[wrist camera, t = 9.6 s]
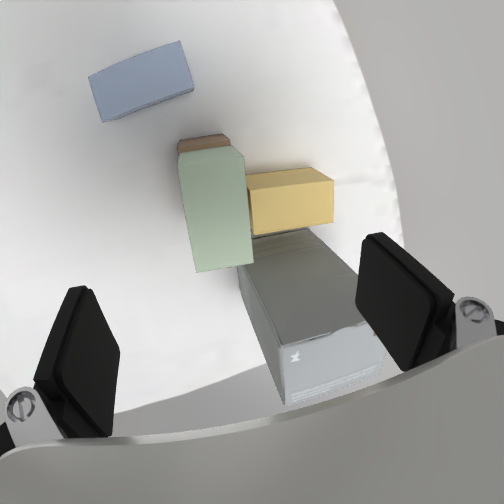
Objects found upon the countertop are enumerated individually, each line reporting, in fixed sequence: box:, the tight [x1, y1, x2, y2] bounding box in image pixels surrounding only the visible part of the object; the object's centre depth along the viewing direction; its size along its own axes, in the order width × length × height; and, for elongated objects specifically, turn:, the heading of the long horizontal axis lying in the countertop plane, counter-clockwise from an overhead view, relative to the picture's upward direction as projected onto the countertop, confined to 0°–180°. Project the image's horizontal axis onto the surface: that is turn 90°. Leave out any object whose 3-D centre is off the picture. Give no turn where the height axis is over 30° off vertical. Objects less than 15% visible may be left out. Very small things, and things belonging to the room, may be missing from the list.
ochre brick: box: [246, 167, 334, 235], centre depth 27 cm, size 7×4×5 cm, turn 95°
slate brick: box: [88, 41, 194, 123], centre depth 20 cm, size 7×4×5 cm, turn 105°
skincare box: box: [237, 229, 387, 406], centre depth 25 cm, size 8×7×16 cm
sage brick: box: [177, 145, 254, 273], centre depth 20 cm, size 7×4×5 cm, turn 5°
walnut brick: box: [177, 134, 230, 155], centre depth 25 cm, size 7×4×5 cm, turn 5°
